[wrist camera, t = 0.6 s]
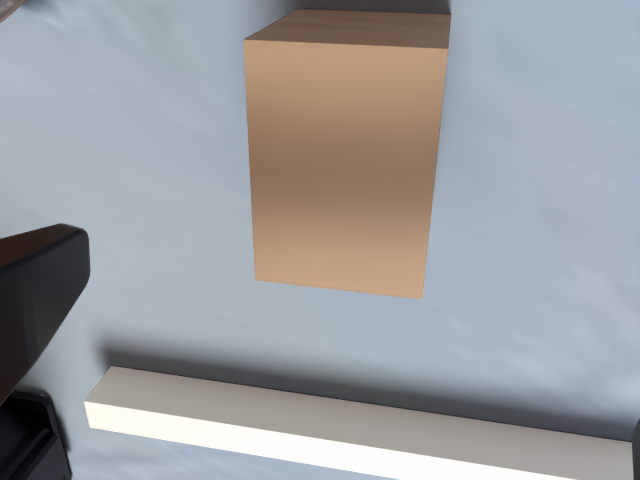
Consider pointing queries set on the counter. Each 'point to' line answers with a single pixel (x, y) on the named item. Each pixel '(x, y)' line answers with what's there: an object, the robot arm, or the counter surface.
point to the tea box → (345, 147)
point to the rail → (345, 432)
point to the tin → (9, 7)
